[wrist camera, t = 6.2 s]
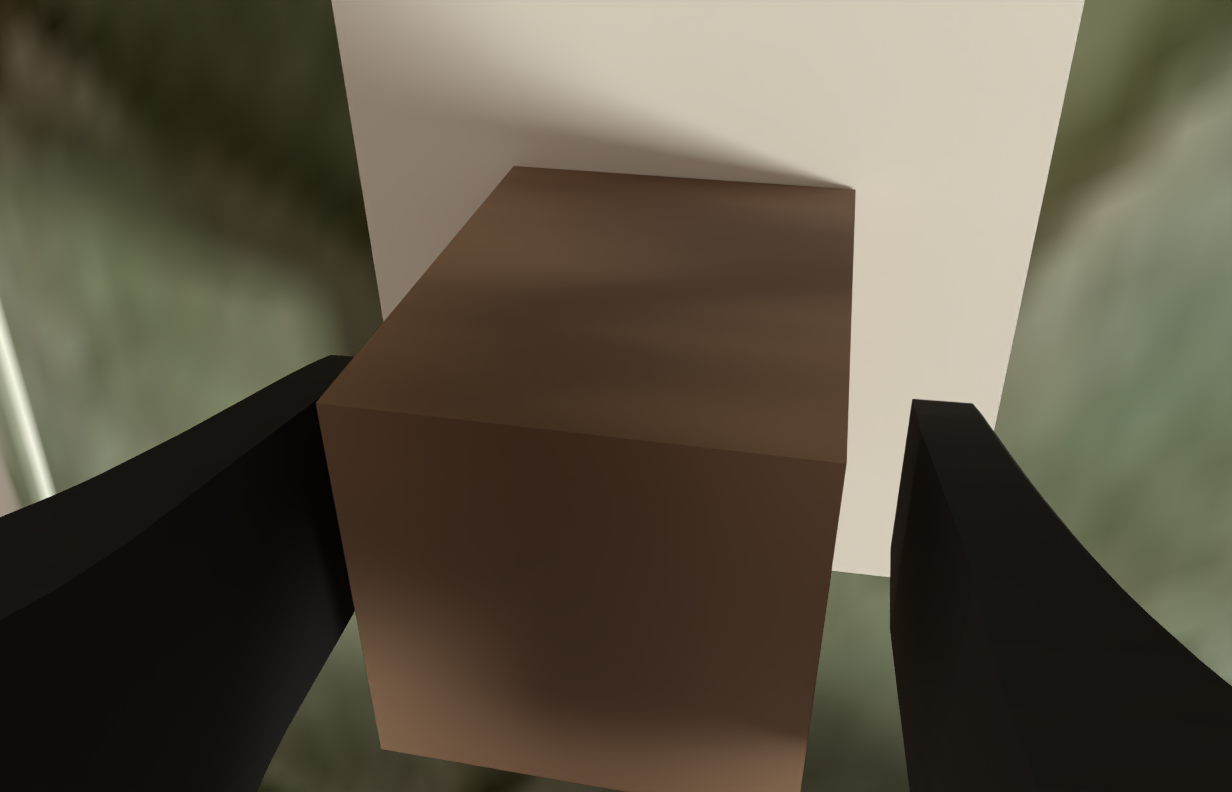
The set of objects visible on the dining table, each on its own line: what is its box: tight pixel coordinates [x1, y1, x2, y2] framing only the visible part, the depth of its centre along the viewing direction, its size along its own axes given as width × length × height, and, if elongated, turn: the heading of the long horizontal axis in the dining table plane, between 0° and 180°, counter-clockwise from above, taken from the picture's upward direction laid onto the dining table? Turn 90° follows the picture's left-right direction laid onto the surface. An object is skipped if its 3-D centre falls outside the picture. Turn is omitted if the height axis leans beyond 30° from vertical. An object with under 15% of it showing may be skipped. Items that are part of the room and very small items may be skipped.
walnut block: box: [316, 166, 856, 792], centre depth 12 cm, size 4×4×6 cm
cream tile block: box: [331, 0, 1085, 577], centre depth 16 cm, size 9×9×3 cm
